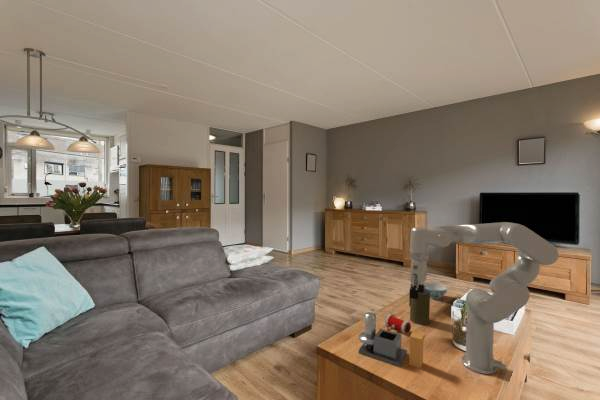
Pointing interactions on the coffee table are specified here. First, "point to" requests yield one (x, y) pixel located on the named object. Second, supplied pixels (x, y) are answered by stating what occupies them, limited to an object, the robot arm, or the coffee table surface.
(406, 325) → the toy hammer
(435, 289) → the chinaware
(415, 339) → the orange rectangular block
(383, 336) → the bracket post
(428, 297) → the canister
